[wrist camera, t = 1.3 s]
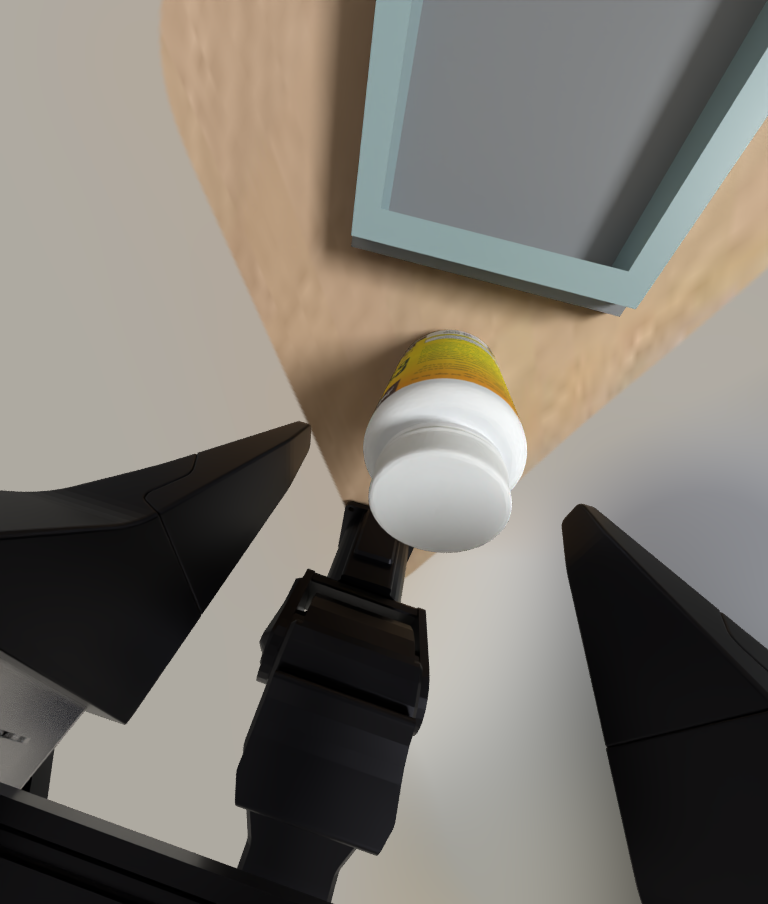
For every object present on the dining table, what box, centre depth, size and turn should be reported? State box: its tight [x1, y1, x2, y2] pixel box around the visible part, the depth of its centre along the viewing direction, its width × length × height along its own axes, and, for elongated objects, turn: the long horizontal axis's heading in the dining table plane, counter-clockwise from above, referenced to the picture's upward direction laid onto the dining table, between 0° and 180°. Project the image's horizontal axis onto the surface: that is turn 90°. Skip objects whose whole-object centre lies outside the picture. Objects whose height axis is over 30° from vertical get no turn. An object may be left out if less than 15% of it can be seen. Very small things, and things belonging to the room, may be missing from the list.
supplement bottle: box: [363, 330, 527, 553], centre depth 12 cm, size 6×6×10 cm
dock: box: [351, 0, 768, 317], centre depth 8 cm, size 12×12×2 cm
